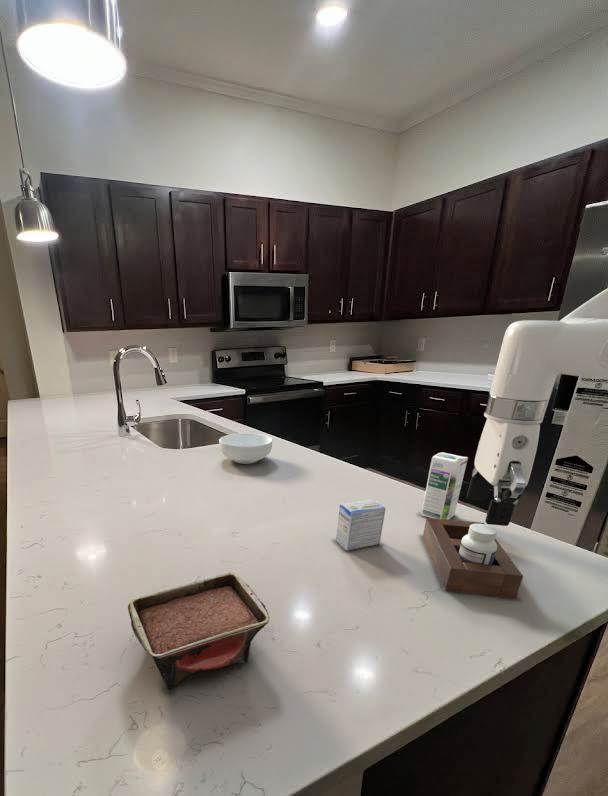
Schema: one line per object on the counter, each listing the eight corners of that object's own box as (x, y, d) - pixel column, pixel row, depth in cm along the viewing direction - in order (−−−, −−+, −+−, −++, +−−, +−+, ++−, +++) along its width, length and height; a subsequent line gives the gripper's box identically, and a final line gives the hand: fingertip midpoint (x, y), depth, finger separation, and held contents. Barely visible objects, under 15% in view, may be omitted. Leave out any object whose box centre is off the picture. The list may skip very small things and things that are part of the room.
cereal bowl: (278, 455, 139) (279, 435, 137) (261, 471, 126) (262, 449, 123) (231, 450, 146) (231, 430, 143) (210, 464, 132) (210, 443, 129)
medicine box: (367, 535, 89) (372, 498, 86) (380, 545, 85) (386, 506, 82) (334, 541, 87) (338, 503, 84) (346, 551, 83) (351, 512, 80)
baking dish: (269, 681, 57) (280, 617, 54) (137, 705, 50) (141, 633, 47) (231, 621, 69) (238, 566, 67) (121, 634, 63) (124, 574, 60)
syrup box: (419, 515, 98) (431, 456, 92) (430, 508, 101) (442, 450, 95) (444, 523, 94) (458, 462, 88) (455, 515, 97) (469, 456, 92)
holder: (478, 542, 86) (483, 522, 84) (515, 598, 69) (523, 576, 67) (422, 536, 88) (426, 517, 87) (445, 590, 71) (450, 568, 70)
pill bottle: (473, 566, 78) (485, 520, 74) (494, 583, 73) (509, 534, 69) (446, 569, 77) (458, 522, 73) (467, 586, 72) (480, 537, 68)
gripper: (573, 424, 54) (533, 538, 61) (519, 399, 70) (492, 493, 77) (509, 420, 56) (477, 533, 63) (470, 397, 71) (448, 489, 78)
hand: (485, 511), depth 70 cm, fingers open, 9 cm apart
